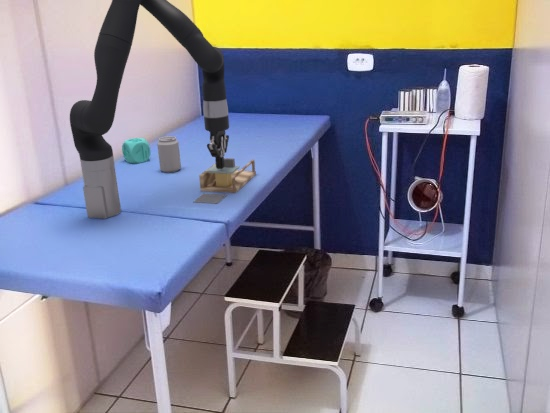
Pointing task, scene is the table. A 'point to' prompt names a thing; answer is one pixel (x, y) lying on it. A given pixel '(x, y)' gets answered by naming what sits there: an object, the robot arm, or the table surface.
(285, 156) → the table surface
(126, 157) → the decorative dice
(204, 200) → the mat
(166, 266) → the table surface
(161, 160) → the can
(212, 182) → the wooden rack
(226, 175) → the block
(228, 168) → the lid
